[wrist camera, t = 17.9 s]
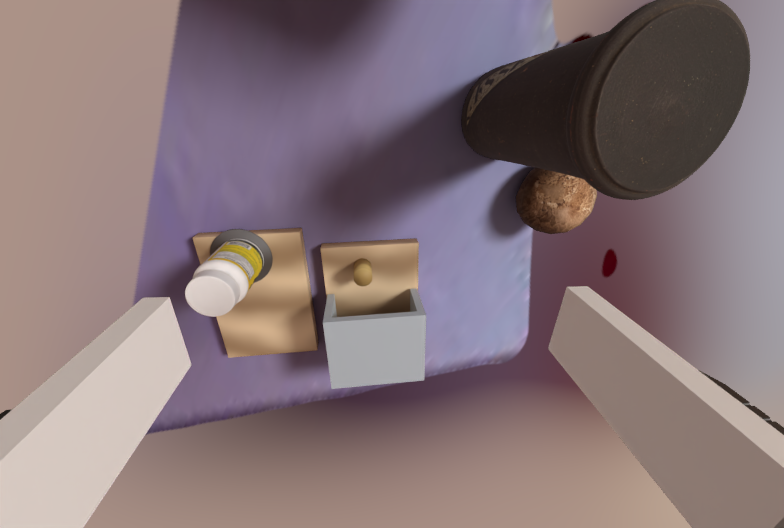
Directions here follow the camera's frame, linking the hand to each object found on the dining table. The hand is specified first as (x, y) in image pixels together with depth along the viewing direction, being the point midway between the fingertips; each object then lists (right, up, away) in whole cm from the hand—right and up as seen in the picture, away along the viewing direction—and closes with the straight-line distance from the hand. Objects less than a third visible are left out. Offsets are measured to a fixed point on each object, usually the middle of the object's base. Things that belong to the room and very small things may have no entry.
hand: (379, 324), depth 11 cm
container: (+11, +17, +22) cm, 30 cm away
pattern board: (-2, -3, +29) cm, 29 cm away
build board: (-15, -1, +27) cm, 31 cm away
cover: (-2, -5, +28) cm, 29 cm away
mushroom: (+18, +11, +26) cm, 33 cm away
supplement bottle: (-16, +3, +24) cm, 29 cm away
